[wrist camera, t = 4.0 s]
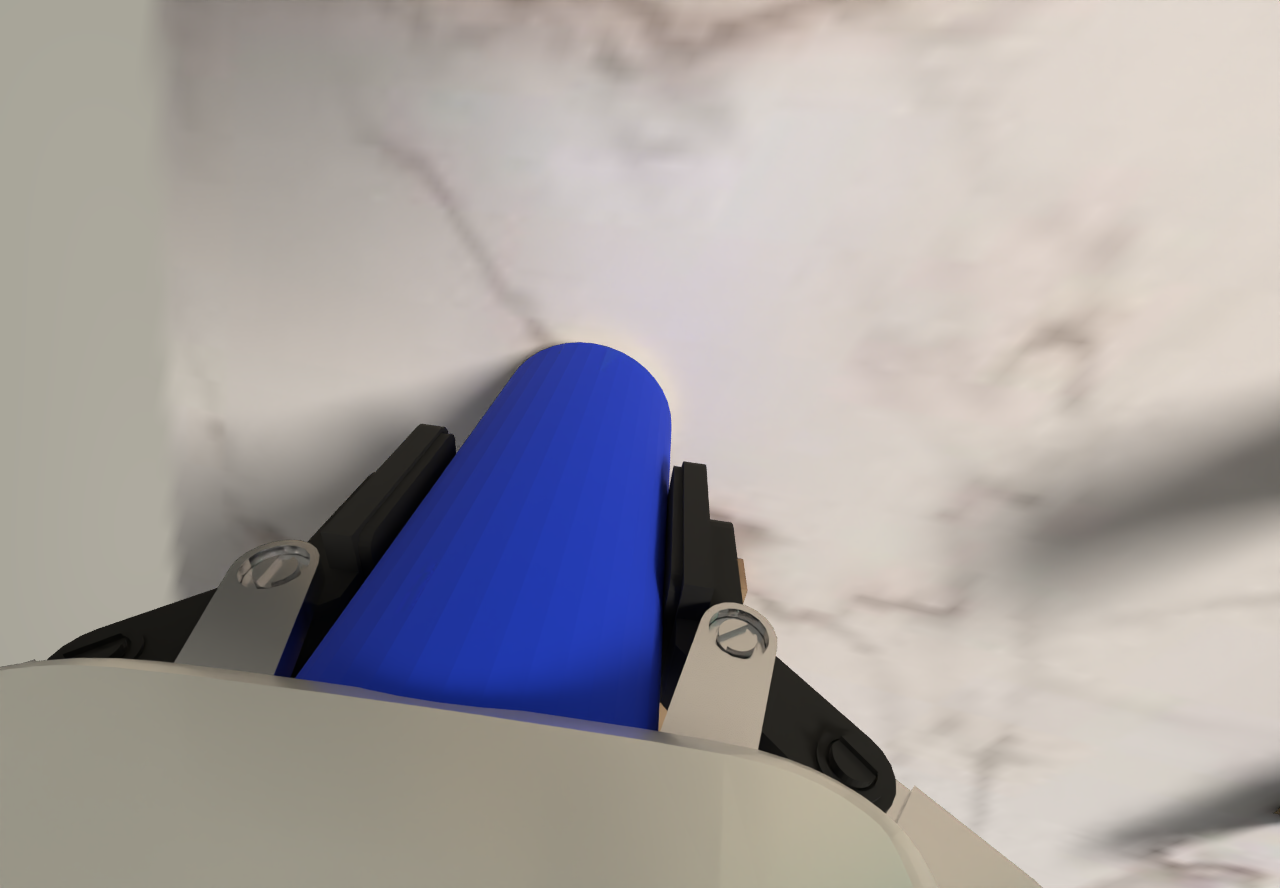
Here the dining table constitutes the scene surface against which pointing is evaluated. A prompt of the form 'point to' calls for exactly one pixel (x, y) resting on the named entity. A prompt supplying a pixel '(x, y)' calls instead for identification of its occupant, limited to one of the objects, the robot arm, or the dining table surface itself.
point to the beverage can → (529, 556)
